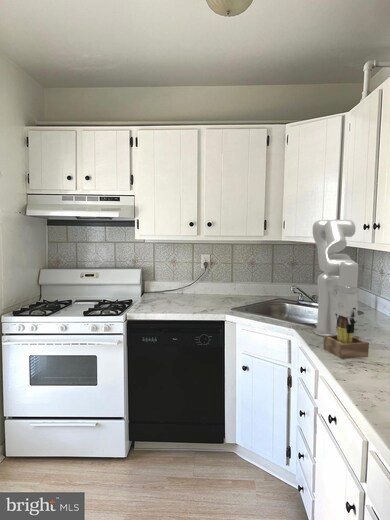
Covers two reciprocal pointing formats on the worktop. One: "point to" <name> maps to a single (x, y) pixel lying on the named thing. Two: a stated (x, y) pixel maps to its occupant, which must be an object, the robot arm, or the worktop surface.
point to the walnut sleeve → (346, 347)
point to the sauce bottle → (343, 331)
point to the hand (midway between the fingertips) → (345, 330)
